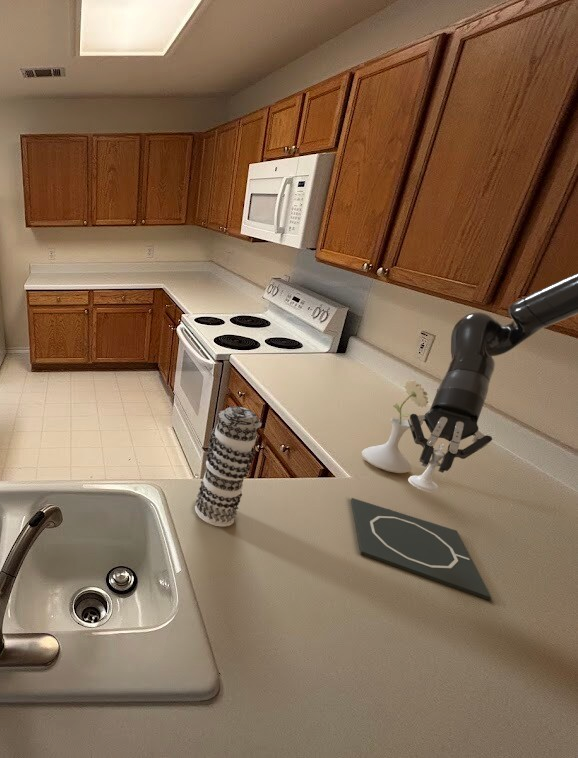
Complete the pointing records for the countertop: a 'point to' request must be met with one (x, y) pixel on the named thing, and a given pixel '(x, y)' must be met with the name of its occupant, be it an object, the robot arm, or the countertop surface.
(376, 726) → the countertop surface
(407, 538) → the slate board
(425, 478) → the chess piece
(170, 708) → the countertop surface
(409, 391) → the flower in vase
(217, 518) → the decorative candle
